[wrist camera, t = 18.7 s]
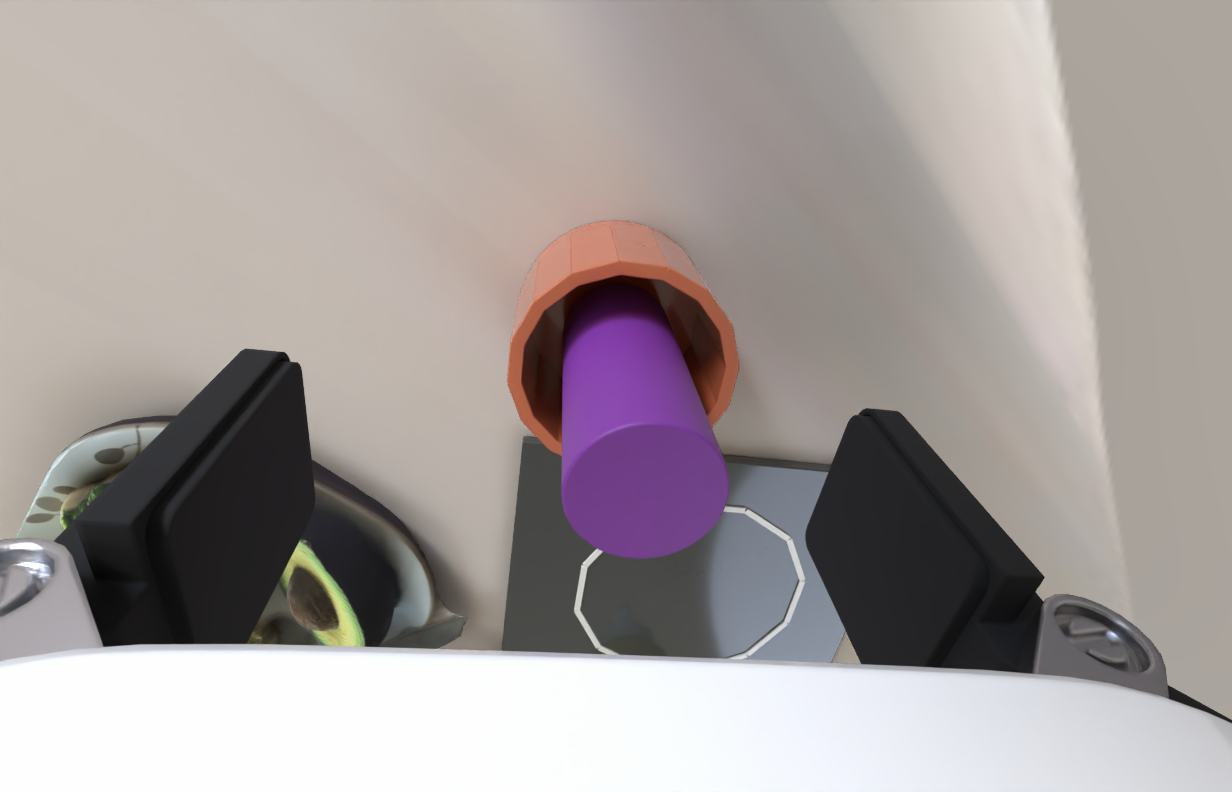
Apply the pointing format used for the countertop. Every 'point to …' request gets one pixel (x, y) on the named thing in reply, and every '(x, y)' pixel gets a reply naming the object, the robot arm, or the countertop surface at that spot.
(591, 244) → the pen pot
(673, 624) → the slate board
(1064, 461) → the countertop surface
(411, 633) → the salad plate
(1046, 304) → the countertop surface
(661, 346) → the cylinder
